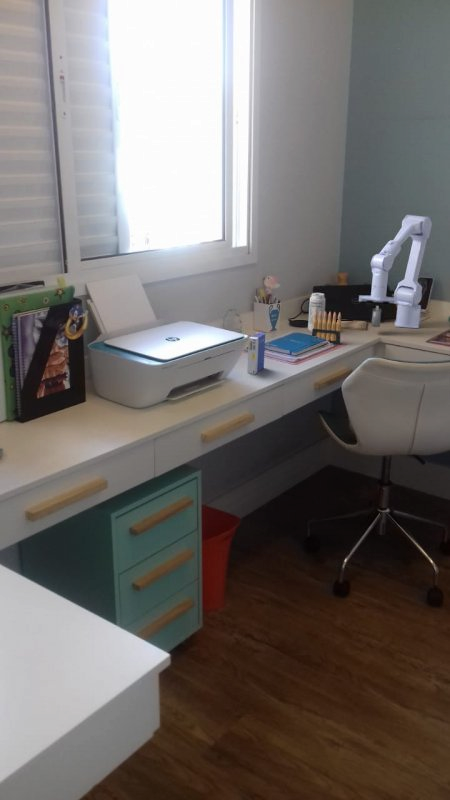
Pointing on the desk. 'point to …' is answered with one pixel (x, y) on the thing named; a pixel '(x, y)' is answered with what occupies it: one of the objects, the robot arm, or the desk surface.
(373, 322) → the connector
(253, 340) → the purple white carton box
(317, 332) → the ammunition clip
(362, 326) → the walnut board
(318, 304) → the energy drink can
